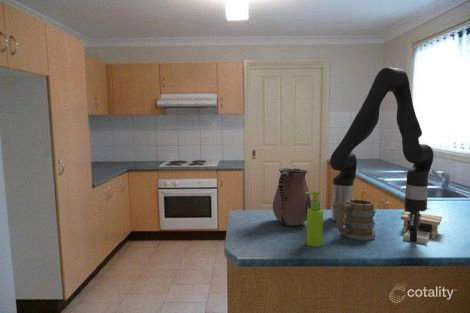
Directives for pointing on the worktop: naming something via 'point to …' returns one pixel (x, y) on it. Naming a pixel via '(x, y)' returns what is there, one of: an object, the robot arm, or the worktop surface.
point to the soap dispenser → (314, 222)
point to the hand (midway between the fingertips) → (413, 241)
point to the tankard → (356, 219)
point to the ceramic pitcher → (291, 197)
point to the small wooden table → (424, 223)
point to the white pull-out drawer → (418, 237)
